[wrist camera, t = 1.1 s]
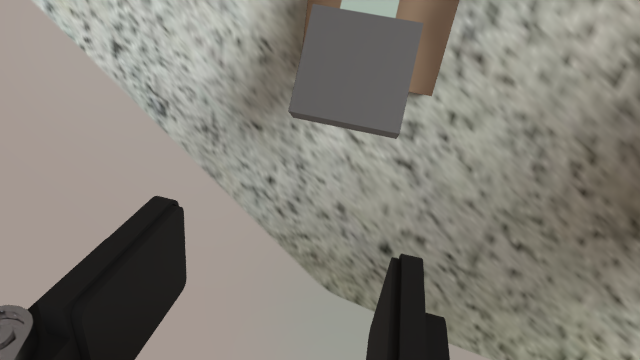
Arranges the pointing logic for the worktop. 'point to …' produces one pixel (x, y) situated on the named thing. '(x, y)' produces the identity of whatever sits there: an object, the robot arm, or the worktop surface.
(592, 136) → the worktop surface
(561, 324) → the worktop surface
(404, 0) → the press base
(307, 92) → the press lever
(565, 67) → the worktop surface
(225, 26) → the worktop surface
